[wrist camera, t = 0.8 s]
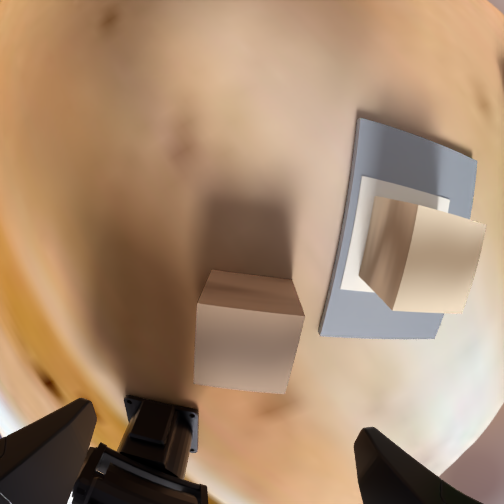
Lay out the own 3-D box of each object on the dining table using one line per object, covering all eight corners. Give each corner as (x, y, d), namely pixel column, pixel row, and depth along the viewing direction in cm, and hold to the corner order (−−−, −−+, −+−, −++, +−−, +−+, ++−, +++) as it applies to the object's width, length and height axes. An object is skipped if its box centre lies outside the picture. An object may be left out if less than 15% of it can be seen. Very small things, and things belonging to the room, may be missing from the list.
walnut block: (278, 345, 19) (284, 393, 14) (206, 337, 19) (193, 383, 14) (291, 279, 18) (304, 316, 13) (212, 269, 18) (197, 303, 13)
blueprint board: (431, 335, 19) (435, 339, 18) (318, 331, 19) (320, 336, 18) (472, 160, 15) (478, 161, 15) (357, 119, 15) (361, 117, 14)
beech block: (420, 282, 17) (461, 313, 12) (358, 275, 17) (392, 310, 12) (437, 211, 16) (486, 225, 11) (374, 195, 16) (418, 204, 11)
